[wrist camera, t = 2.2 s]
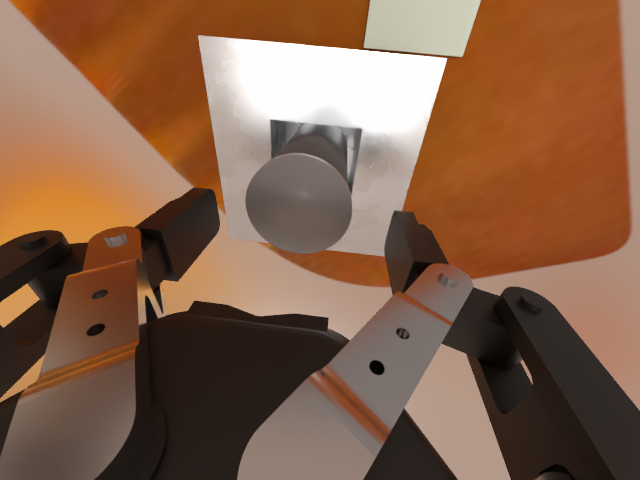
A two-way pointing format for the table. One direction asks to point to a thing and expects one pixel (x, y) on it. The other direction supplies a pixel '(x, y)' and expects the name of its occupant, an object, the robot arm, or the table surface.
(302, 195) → the gray cylinder
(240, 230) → the housing
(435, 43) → the mat
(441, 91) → the table surface
